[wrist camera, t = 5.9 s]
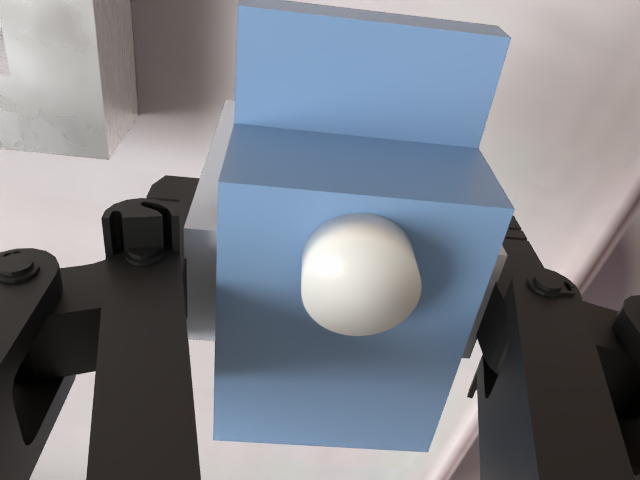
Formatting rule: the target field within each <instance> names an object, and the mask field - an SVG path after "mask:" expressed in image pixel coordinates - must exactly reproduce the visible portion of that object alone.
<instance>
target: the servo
mask: <svg viewBox="0 0 640 480" xmlns="http://www.w3.org/2000/svg"><path fill="white" fill-rule="evenodd" d="M510 40H511V37H510V36H509V35H507V34H506V33H505V32H504V31H503V30H502V29H501V28H499V27H498V26H494V25H486V24H477V23H469V22H461V21H452V20H444V19H436V18H427V17H419V16H410V15H402V14H394V13H385V12H377V11H369V10H360V9H352V8H344V7H335V6H327V5H318V4H310V3H302V2H293V1H285V0H240V2H239V4H238V20H237V50H236V79H235V108H234V125H233V129H232V133H231V136H230V140H229V144H228V147H227V151H226V155H225V158H224V162H223V166H222V169H221V173H220V177H219V180H218V214H217V266H216V319H215V372H214V425H213V440H219V441H237V442H255V443H272V444H290V445H308V446H326V447H344V448H362V449H380V450H398V451H416V452H428V451H429V448H430V445H431V442H432V440H433V437H434V434H435V431H436V428H437V426H438V423H439V420H440V417H441V414H442V412H443V409H444V406H445V403H446V400H447V398H448V395H449V392H450V389H451V386H452V383H453V381H454V378H455V375H456V372H457V369H458V367H459V364H460V361H461V358H462V355H463V353H464V350H465V347H466V344H467V341H468V339H469V336H470V333H471V330H472V327H473V325H474V322H475V319H476V316H477V313H478V311H479V308H480V305H481V302H482V299H483V297H484V294H485V291H486V288H487V285H488V283H489V280H490V277H491V274H492V271H493V269H494V266H495V263H496V260H497V257H498V255H499V252H500V249H501V246H502V243H503V241H504V238H505V235H506V232H507V229H508V227H509V224H510V221H511V218H512V215H513V213H514V210H515V209H514V207H513V206H512V204H511V202H510V200H509V199H508V197H507V195H506V194H505V192H504V190H503V189H502V187H501V185H500V184H499V182H498V180H497V179H496V177H495V175H494V174H493V172H492V170H491V169H490V167H489V165H488V163H487V162H486V160H485V158H484V157H483V155H482V153H481V152H480V150H479V145H480V141H481V138H482V135H483V131H484V128H485V124H486V121H487V118H488V114H489V111H490V107H491V104H492V101H493V97H494V94H495V91H496V87H497V84H498V80H499V77H500V74H501V70H502V67H503V63H504V60H505V57H506V53H507V50H508V46H509V43H510Z"/></svg>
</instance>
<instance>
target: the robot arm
mask: <svg viewBox="0 0 640 480" xmlns="http://www.w3.org/2000/svg"><path fill="white" fill-rule="evenodd" d="M234 108H235V101H233V100H225V103H224V106H223V109H222V112H221V115H220V119H219V122H218V125H217V128H216V131H215V134H214V137H213V140H212V143H211V146H210V149H209V152H208V155H207V158H206V161H205V164H204V167H203V171H202V174H201V177H200V178H189V177H178V176H167V175H166V176H164V177H163V178H161V179H160V180H159V181H157V182H156V183H154V184H153V185H152V186H151V188H150V191H149V193H148V195H147V198H146V199H145V198H139V199H130V200H125V201H122V202H119V203H116V204H114V205H112V206H111V207H110V208H108V209H107V210H105V212H104V214H103V216H102V227H103V236H104V245H105V253H106V260H103V261H100V262H97V263H94V264H89V265H83V266H76V267H67V268H59V264H58V261H57V259H56V257H55V256H53V255H52V254H50V253H48V252H47V251H43V250H38V249H34V248H26V249H13V250H8V251H5V252H1V253H0V480H29V479H30V476H31V474H32V472H33V470H34V468H35V465H36V463H37V461H38V459H39V457H40V454H41V452H42V450H43V448H44V446H45V444H46V441H47V439H48V437H49V435H50V433H51V430H52V428H53V426H54V424H55V422H56V419H57V417H58V415H59V413H60V411H61V409H62V406H63V404H64V402H65V400H66V398H67V395H68V393H69V391H70V389H71V387H72V384H73V382H74V380H75V377H76V374H82V373H87V372H93V371H96V375H95V386H94V398H93V409H92V421H91V432H90V444H89V455H88V467H87V478H86V480H201V476H200V465H199V454H198V443H197V432H196V421H195V410H194V399H193V388H192V377H191V366H190V355H189V344H188V339H193V340H208V341H215V319H216V266H217V214H218V180H219V177H220V173H221V169H222V166H223V162H224V158H225V155H226V151H227V147H228V144H229V140H230V136H231V133H232V129H233V125H234ZM477 339H478V342H479V344H480V347H481V350H482V353H483V355H482V357H481V360H480V363H479V365H478V368H477V370H476V373H475V376H474V378H473V381H472V384H471V386H470V389H469V392H468V396H467V397H469V398H473V396H474V393H475V391H476V390H477V394H478V422H479V447H480V448H479V450H480V477H481V480H640V295H638V296H631V297H629V298H627V299H625V300H624V302H623V304H622V306H621V308H620V310H619V311H615V310H612V309H608V308H604V307H601V306H597V305H594V304H590V303H588V302H585V301H582V297H581V294H580V292H579V290H578V289H577V287H576V285H574V284H573V283H572V282H571V281H570V280H569V279H567V278H566V277H564V276H562V275H560V274H559V273H557V272H555V271H552V270H548V269H545V268H544V267H543V265H542V263H541V261H540V260H539V258H538V256H537V255H536V253H535V251H534V250H533V248H532V246H531V244H530V243H529V241H527V238H526V236H525V234H524V232H523V231H521V227H520V226H519V224H518V222H517V221H516V219H515V217H514V216H513V215H512V218H511V221H510V224H509V227H508V229H507V232H506V235H505V238H504V241H503V243H502V246H501V249H500V252H499V255H498V257H497V260H496V263H495V266H494V269H493V271H492V274H491V277H490V280H489V283H488V285H487V288H486V291H485V294H484V297H483V299H482V302H481V305H480V308H479V311H478V313H477V316H476V319H475V322H474V325H473V327H472V330H471V333H470V336H469V339H468V341H467V344H466V347H465V350H464V353H463V355H462V358H470V356H471V353H472V351H473V348H474V345H475V343H476V340H477Z"/></svg>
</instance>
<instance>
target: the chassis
mask: <svg viewBox="0 0 640 480" xmlns="http://www.w3.org/2000/svg"><path fill="white" fill-rule="evenodd" d="M0 23H1V28H2V34H3V35H0V149H5V150H15V151H25V152H36V153H46V154H56V155H66V156H76V157H86V158H97V159H107V160H109V159H110V157H111V156H112V154H113V153H114V151H115V150H116V148H117V147H118V145H119V144H120V142H121V141H122V139H123V138H124V136H125V135H126V133H127V132H128V130H129V129H130V127H131V126H132V124H133V122H134V121H135V119H136V118H137V116H138V103H137V88H136V73H135V59H134V44H133V29H132V14H131V0H0Z"/></svg>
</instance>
